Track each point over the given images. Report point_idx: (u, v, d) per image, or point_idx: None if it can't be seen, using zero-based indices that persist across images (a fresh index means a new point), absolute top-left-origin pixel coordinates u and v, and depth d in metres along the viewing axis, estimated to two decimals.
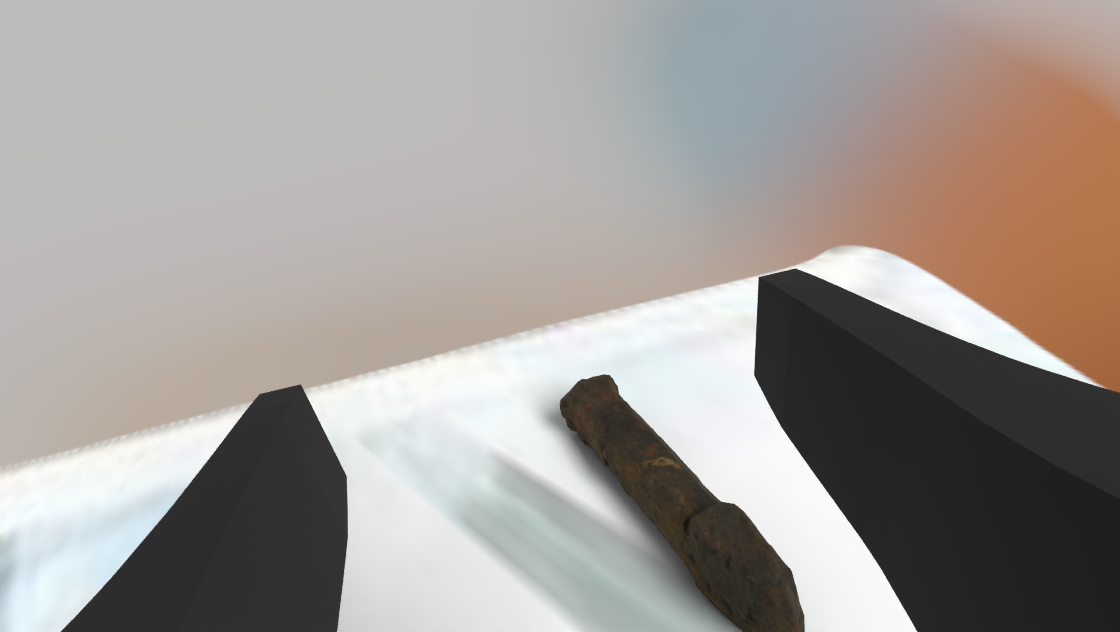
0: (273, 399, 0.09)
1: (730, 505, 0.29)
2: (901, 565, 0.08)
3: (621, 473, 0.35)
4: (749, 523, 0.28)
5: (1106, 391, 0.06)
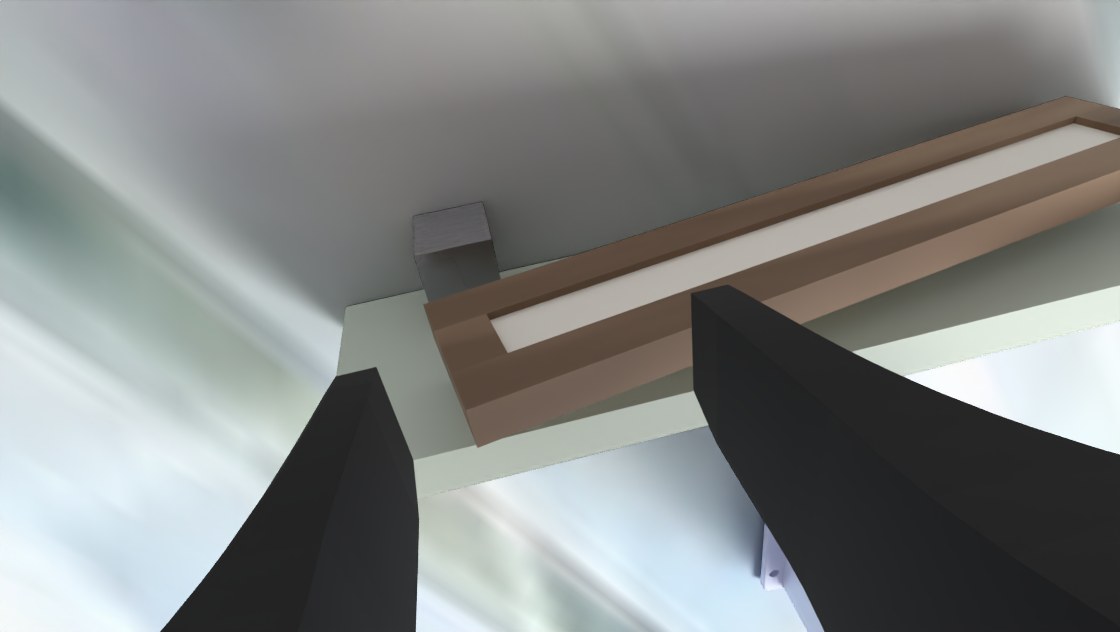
0: (352, 380, 0.09)
1: None
2: (819, 588, 0.08)
3: None
4: None
5: (1003, 418, 0.06)
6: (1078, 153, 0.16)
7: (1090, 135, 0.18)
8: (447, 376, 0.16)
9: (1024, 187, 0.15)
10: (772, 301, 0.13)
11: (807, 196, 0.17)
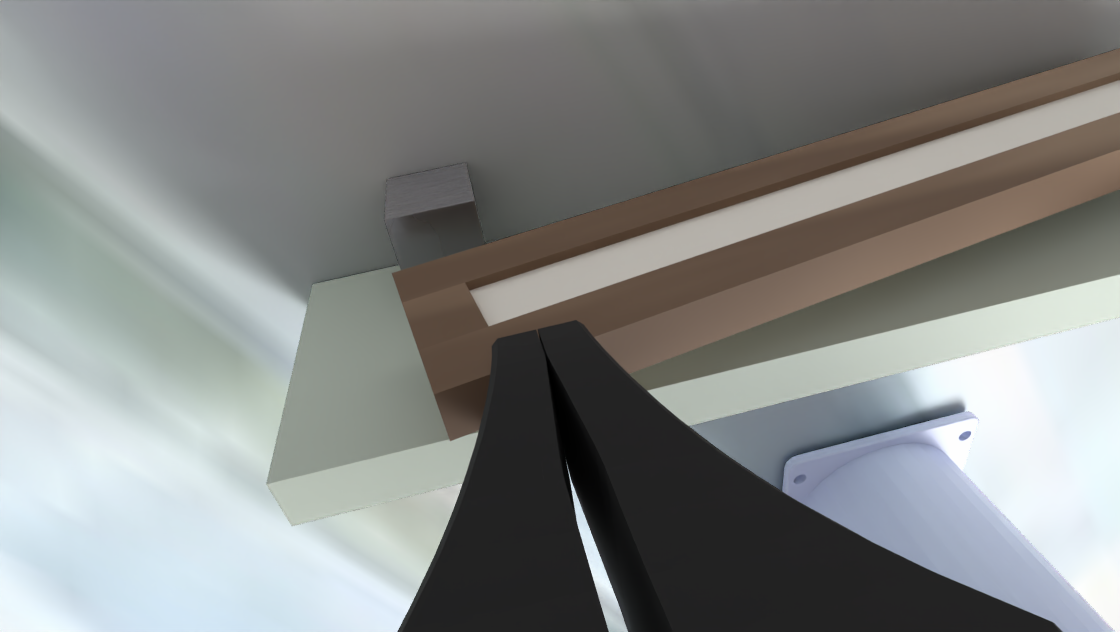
0: (518, 341, 0.09)
1: None
2: None
3: None
4: None
5: (766, 482, 0.06)
6: None
7: None
8: None
9: (1099, 137, 0.13)
10: (808, 265, 0.11)
11: (841, 151, 0.14)
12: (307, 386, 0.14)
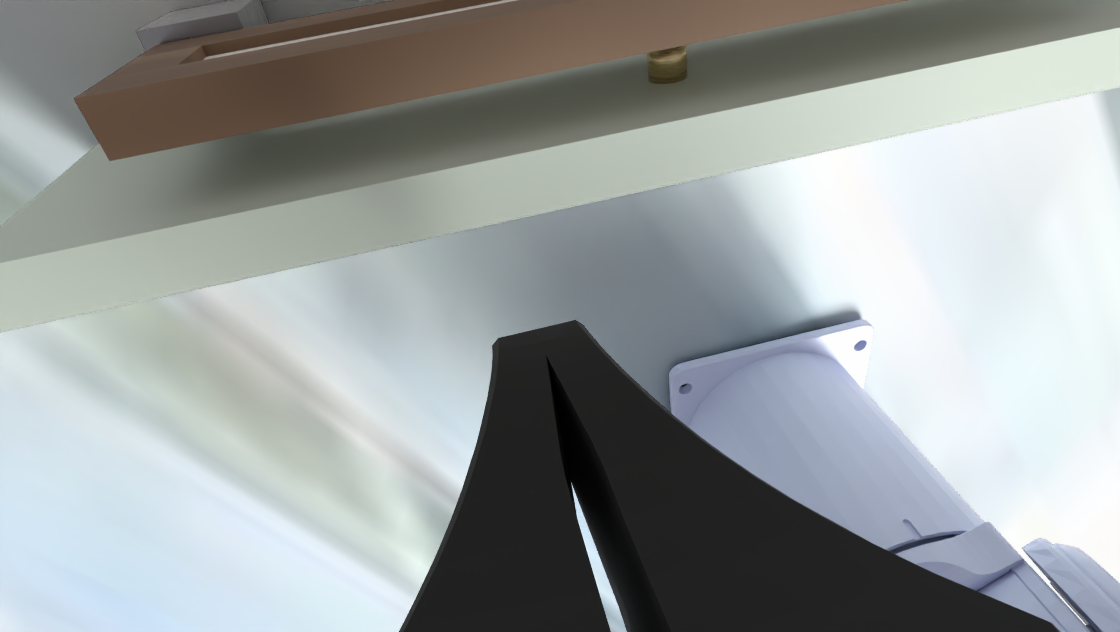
0: (520, 341, 0.09)
1: None
2: None
3: None
4: None
5: (764, 482, 0.06)
6: None
7: None
8: (172, 178, 0.13)
9: None
10: (504, 23, 0.10)
11: None
12: (43, 204, 0.12)
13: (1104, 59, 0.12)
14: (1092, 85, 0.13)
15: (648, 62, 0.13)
